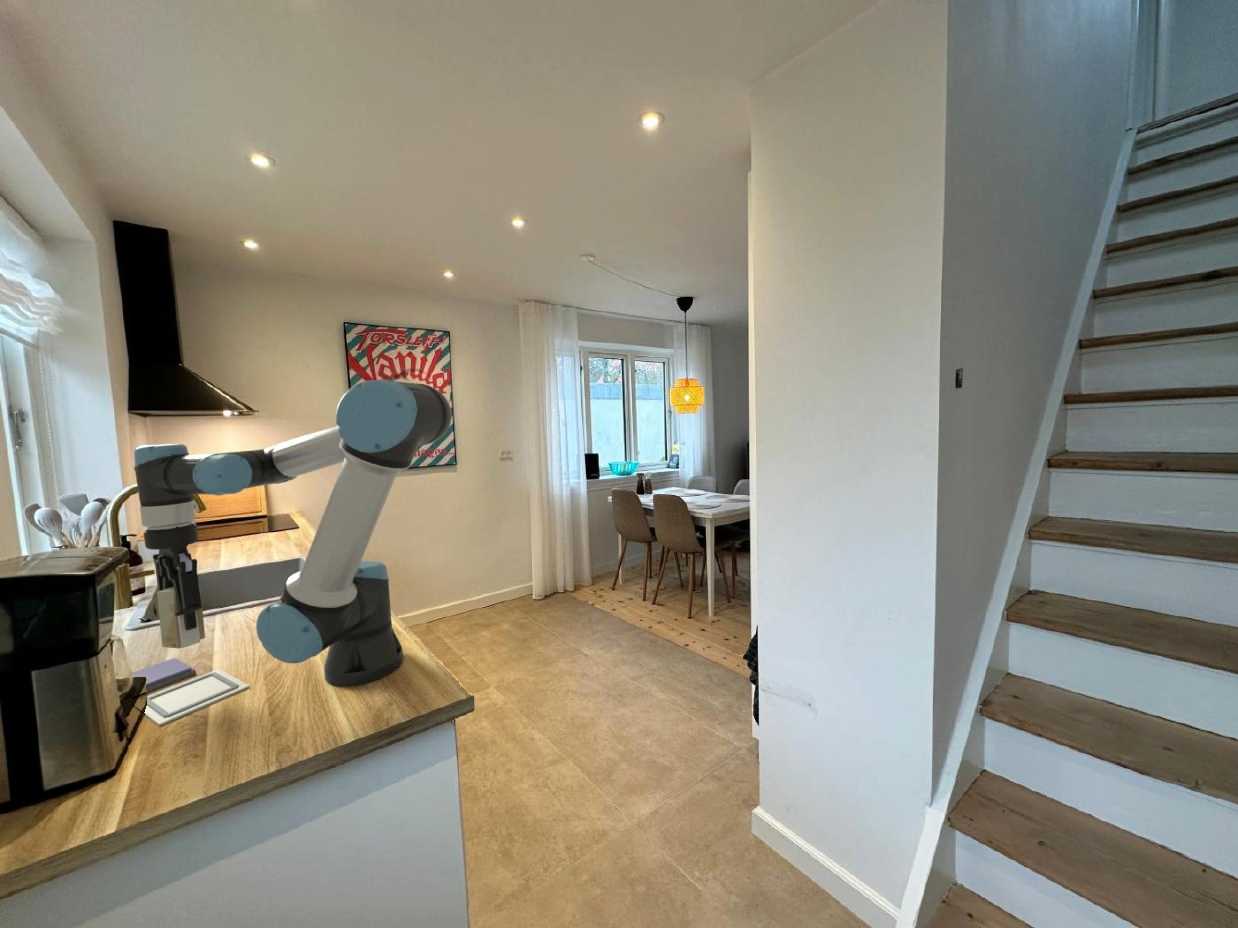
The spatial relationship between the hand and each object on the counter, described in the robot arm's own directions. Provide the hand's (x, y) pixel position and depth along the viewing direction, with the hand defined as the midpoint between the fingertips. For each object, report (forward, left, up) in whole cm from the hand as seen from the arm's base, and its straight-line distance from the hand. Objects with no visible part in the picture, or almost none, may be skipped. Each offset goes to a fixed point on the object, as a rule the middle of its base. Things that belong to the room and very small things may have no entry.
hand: (184, 640), depth 96 cm
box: (0, 0, 0) cm, 1 cm away
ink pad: (+15, +1, -11) cm, 19 cm away
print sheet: (0, 0, -11) cm, 11 cm away
